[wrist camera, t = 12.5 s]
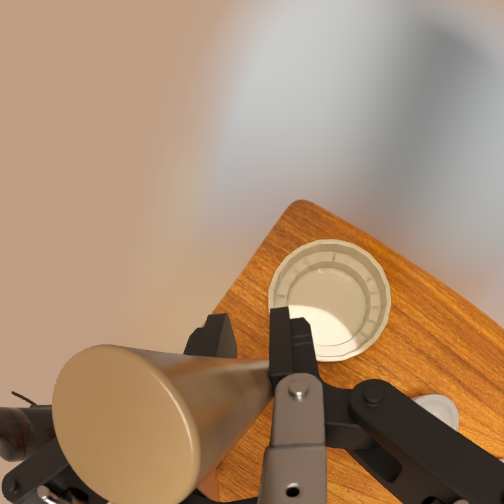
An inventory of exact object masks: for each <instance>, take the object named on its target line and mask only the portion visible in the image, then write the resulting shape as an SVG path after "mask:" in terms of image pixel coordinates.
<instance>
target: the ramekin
mask: <svg viewBox="0 0 504 504" xmlns="http://www.w3.org/2000/svg"><path fill="white" fill-rule="evenodd" d="M410 399H412V400H413V401H415V402H416V403H417V404H419V405H420V406H422V407H423V408H424V409H426V410H427V411H429V412H430V413H431V414H433V415H434V416H436V417H437V418H438V419H440V420H441V421H443V422H444V423H446V424H447V425H448V426H450V427H451V428H453V429H454V430H456V431H457V430H458V426H459V415H458V410H457V408H456V406H455V404H454V403H453V401H452V400H451V399H449V398H448V397H446V396H443V395H440V394H425V395H422V396H417V397H413V398H410Z"/></svg>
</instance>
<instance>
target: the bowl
mask: <svg viewBox="0 0 504 504" xmlns="http://www.w3.org/2000/svg"><path fill="white" fill-rule="evenodd" d="M285 306H289V313H290V319H292V318H300V317H304V318H305V319H306V320H307V321H308V323H309V324H310V325H311V331H312V337H313V343H314V348H315V354H316V360H317V361H320V362H329V361H343V360H346V359H349V358H351V357H354V356H356V355H358V354H361V353H362V352H364V351H365V350H366V349H367V348H368V347H370V346H371V345H372V344H373V343H374V342H375V341H376V340H377V339H378V338H379V336H380V334H381V333H382V331H383V329H384V328H385V326H386V324H387V321H388V317H389V313H390V308H391V295H390V286H389V283H388V280H387V278H386V276H385V273H384V271H383V269H382V267H381V266H380V265H379V264H378V262H377V261H376V260H375V259H374V258H373V257H372V255H371V254H369V253H368V252H366V251H365V250H363V249H362V248H360V247H358V246H357V245H355V244H352V243H349V242H345V241H341V240H337V239H330V240H317V241H314V242H311V243H308V244H305V245H302V246H300V247H299V248H297V249H296V250H295V251H293V252H292V253H291V254H289V255H288V256H286V257H285V259H284V260H283V262H282V263H281V264H280V266H279V267H278V268H277V270H276V271H275V273H274V275H273V278H272V281H271V284H270V287H269V292H268V310H269V313H270V308H278V307H285Z"/></svg>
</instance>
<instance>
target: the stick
mask: <svg viewBox="0 0 504 504" xmlns="http://www.w3.org/2000/svg"><path fill="white" fill-rule="evenodd" d="M272 398H273V386H272V383H271V380H270V379H269V360H264V359H236V358H219V357H205V356H194V355H183V354H174V353H164V352H157V351H150V350H142V349H136V348H129V347H123V346H117V345H96V346H92V347H89V348H87V349H84V350H83V351H81V352H79V353H77V354H76V355H75V356H73V357H72V358H71V359H70V360H69V361H68V362H67V363H66V364H65V366H64V367H63V369H62V370H61V372H60V374H59V376H58V378H57V381H56V384H55V387H54V392H53V398H52V417H53V424H54V428H55V433H56V436H57V439H58V442H59V445H60V447H61V449H62V451H63V454H64V455H65V457H66V459H67V461H68V462H69V464H70V465H71V467H72V468H73V470H74V471H75V472H76V474H77V475H78V476H79V477H80V479H81V480H82V481H83V482H84V483H85V484H86V485H87V486H88V487H89V488H91V489H92V490H93V491H94V492H95V493H97V494H98V495H100V496H101V497H103V498H104V499H106V500H108V501H109V502H111V503H113V504H180V503H181V502H182V501H183V500H185V499H186V498H187V497H188V496H189V495H190V494H191V493H192V492H193V491H194V490H195V489H196V488H197V487H198V486H199V485H200V484H201V483H202V482H203V481H204V480H205V479H206V478H207V476H208V475H209V474H210V473H211V472H212V471H213V470H214V469H215V468H216V467H217V466H218V464H219V463H220V462H221V461H222V460H223V459H224V458H225V457H226V455H227V454H228V453H229V452H230V451H231V450H232V448H233V447H234V446H235V445H236V444H237V443H238V441H239V440H240V439H241V438H242V437H243V435H244V434H245V433H246V432H247V430H248V429H249V428H250V427H251V425H252V424H253V423H254V422H255V420H256V419H257V418H258V417H259V415H260V414H261V413H262V411H263V410H264V409H265V408H266V406H267V405H268V404H269V402H270V401H271V400H272Z"/></svg>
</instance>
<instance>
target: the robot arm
mask: <svg viewBox="0 0 504 504" xmlns="http://www.w3.org/2000/svg"><path fill="white" fill-rule="evenodd" d="M184 355H194V356H205V357H219V358H236V359H237V345H236V341H235V337H234V333H233V330H232V326H231V322H230V319H229V316H228V314H227V313H222V314H212V315H208V317H207V320H206V323H205V326H204V327H202V328H197V329H196V330H195V331H194V332H193V333H192V334H191V335H190V337H189V339H188V342H187V345H186V347H185V350H184ZM269 379H270V380H271V383H272V386H273V397H274V407H273V417H272V427H271V436H270V443H269V446H267V447H266V449H265V452H264V458H263V465H262V473H261V480H260V487H259V494H258V497H254V498H249V499H244V500H238V501H232V502H225V503H222V502H219V488H218V484H217V481H216V468H217V467H216V468H215V469H214V470H213V471H212V472H211V473H210V474H209V475H208V476H207V478H206V479H205V480H204V481H203V482H202V483H201V484H200V485H199V486H198V487H197V488H196V489H195V490H194V491H193V492H192V493H191V494H190V495H189V496H188V497H187V498H186V499H185V500H183V501H182V502H181V503H180V504H327V456H326V447H332V448H340V449H345V450H346V451H347V452H348V453H349V454H350V455H351V456H352V457H353V458H354V459H355V460H356V461H357V462H358V463H359V464H360V465H361V466H362V467H363V468H364V469H365V470H366V471H368V472H369V473H370V474H371V475H372V476H373V477H374V478H375V479H376V480H377V481H378V482H379V483H381V484H382V485H383V486H384V487H385V488H386V489H387V490H388V491H389V492H391V493H392V494H393V495H394V496H395V497H396V498H397V499H399V500H400V501H401V502H402V503H403V504H504V463H503V462H502V461H500V460H499V459H497V458H496V457H494V456H493V455H491V454H490V453H488V452H487V451H485V450H484V449H482V448H481V447H479V446H478V445H476V444H475V443H473V442H472V441H470V440H469V439H467V438H466V437H464V436H463V435H462V434H460V433H459V432H457V431H456V430H454V429H453V428H451V427H450V426H448V425H447V424H446V423H444V422H443V421H441V420H440V419H438V418H437V417H436V416H434V415H433V414H431V413H430V412H429V411H427V410H426V409H424V408H423V407H422V406H420V405H419V404H417V403H416V402H415V401H413V400H412V399H410V398H409V397H408V396H406V395H405V394H403V393H402V392H401V391H399V390H398V389H396V388H395V387H394V386H392V385H391V384H390V383H388V382H386V381H383V380H379V379H370V380H365V381H363V382H361V383H359V384H357V385H356V386H355V387H354V388H353V389H342V388H336V387H332V386H330V385H328V384H326V383H325V382H324V381H323V380H322V379H321V377H320V375H319V372H318V366H317V360H316V354H315V348H314V343H313V337H312V331H311V325H310V324H309V323H308V321H307V320H306V319H305V318H304V317H300V318H292V319H290V313H289V306H285V307H278V308H270V343H269ZM12 394H13V395H15V396H17V397H20V398H22V399H23V400H25V401H27V402H29V403H30V404H32V405H31V406H30V408H11V407H10V408H9V407H0V456H1V457H2V458H3V459H4V460H6V461H8V462H17V461H23V462H22V463H21V464H19V465H18V466H17V467H15V468H14V469H13V470H11V471H10V472H9V473H7V474H6V475H5V477H4V478H3V481H2V492H3V495H4V497H5V498H6V499H7V500H8V501H10V502H11V503H13V504H107V503H108V502H109V501H108V500H106V499H104V498H103V497H101V496H100V495H98V494H97V493H95V492H94V491H93V490H92V489H91V488H89V487H88V486H87V485H86V484H85V483H84V482H83V481H82V480H81V479H80V477H79V476H78V475H77V474H76V472H75V471H74V470H73V468H72V467H71V465H70V464H69V462H68V461H67V459H66V457H65V455H64V454H63V451H62V449H61V447H60V445H59V442H58V439H57V436H56V433H55V428H54V424H53V417H52V405H37V404H35V403H34V402H32V401H31V400H29V399H27V398H25V397H24V396H22V395H20V394H18V393H15V392H13V391H12Z"/></svg>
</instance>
